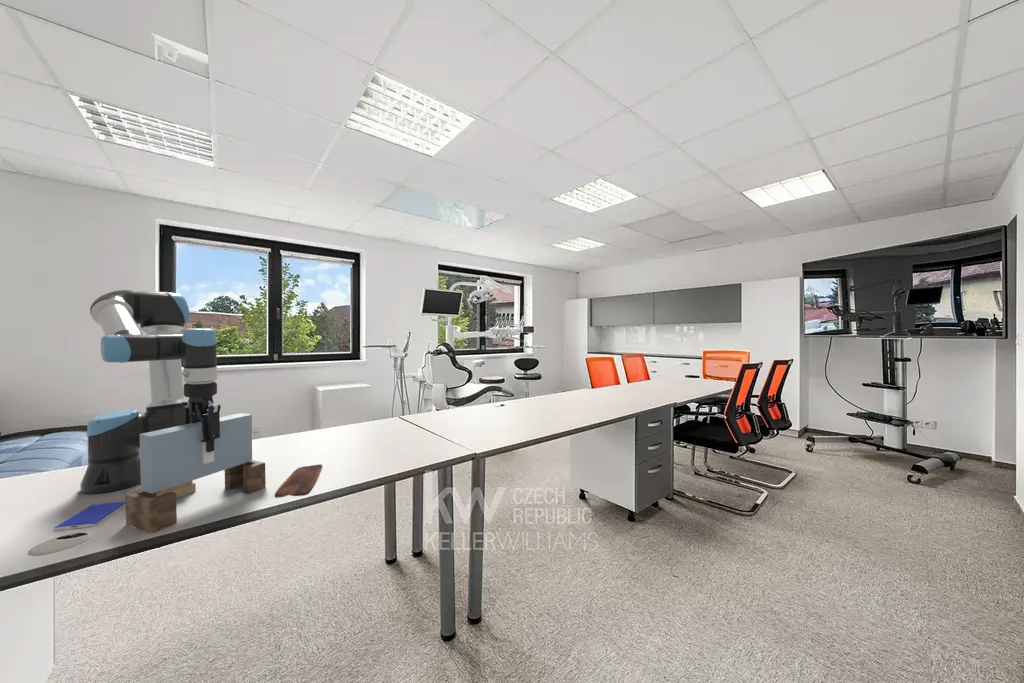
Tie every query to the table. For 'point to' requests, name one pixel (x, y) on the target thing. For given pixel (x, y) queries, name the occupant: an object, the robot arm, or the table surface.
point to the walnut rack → (162, 509)
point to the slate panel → (192, 452)
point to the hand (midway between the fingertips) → (201, 460)
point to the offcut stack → (180, 489)
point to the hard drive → (91, 515)
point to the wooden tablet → (299, 481)
